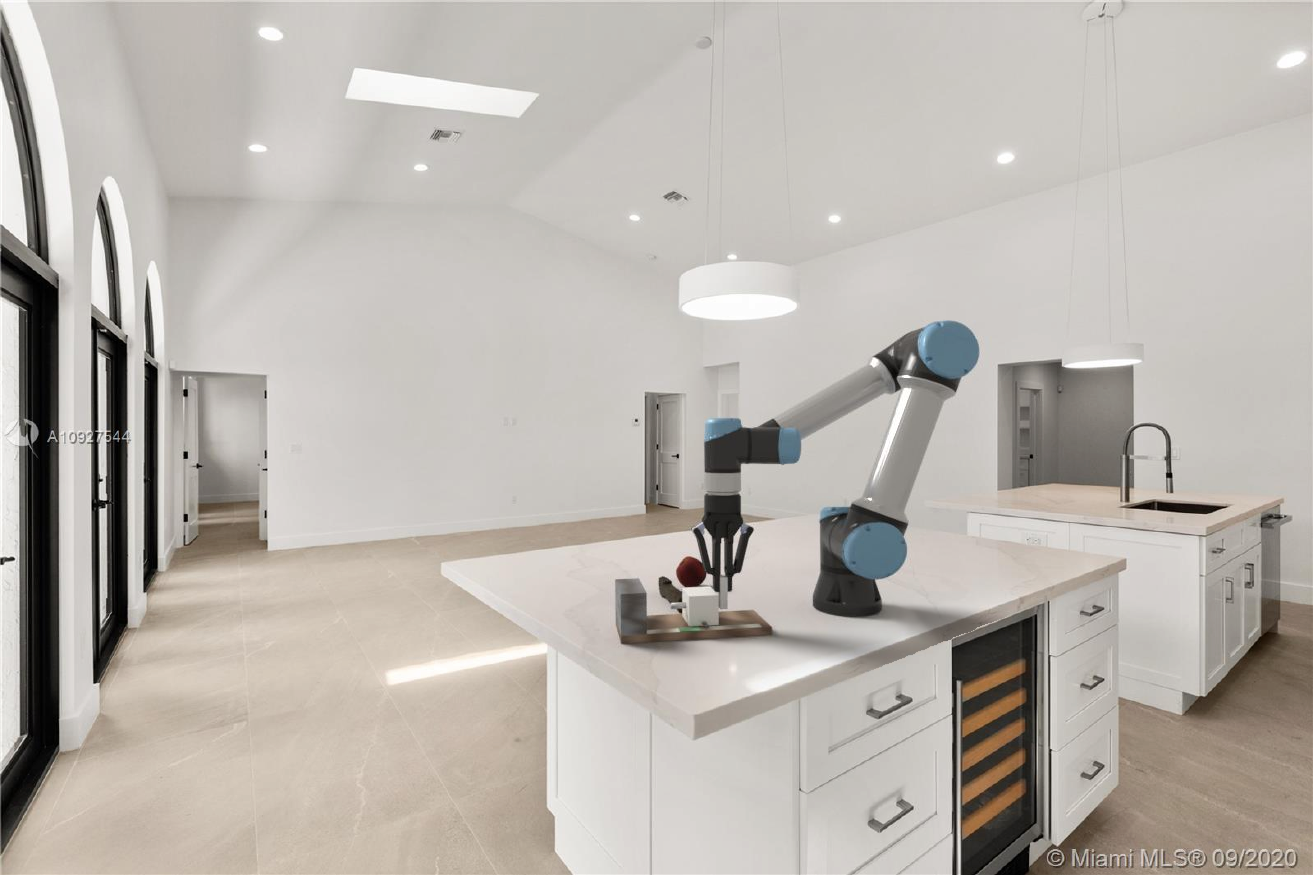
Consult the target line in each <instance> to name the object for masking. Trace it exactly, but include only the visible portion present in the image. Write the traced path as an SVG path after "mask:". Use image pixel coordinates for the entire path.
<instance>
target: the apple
mask: <svg viewBox="0 0 1313 875" xmlns="http://www.w3.org/2000/svg"><path fill="white" fill-rule="evenodd" d="M675 570H676V571H675V576H676V578H677V581H678V582H679V583H680V585H682V587H683V588H687V587H700V586H701V585H702V584H703V583H704V582H705V580H706V578H707V575H708V574H707V573H706V572H705V571H704V568H703V564H702V560H700V559H698V558H696V557H693V556H689V555H687V556H685V557H683V559H682V560H681V561H680V563H679V564H678V566H677V567H676V569H675Z"/></svg>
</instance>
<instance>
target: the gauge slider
mask: <svg viewBox="0 0 1313 875" xmlns="http://www.w3.org/2000/svg"><path fill="white" fill-rule="evenodd" d="M681 590H682V602H679V603H671V602H670V609H671V610H677V609H681V608H682V613H681V614H682V616H683V618H684V619H685V621H686V622H687V624H688V625H689V627H692V626H704V627H705V628H709V625H719V612H720V611H719V609H720V608H719V599H718V594H717V592H715V591H714V590H713V587H711V585H710V586H697V587H687V588H686V587H681Z"/></svg>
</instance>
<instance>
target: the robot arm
mask: <svg viewBox="0 0 1313 875" xmlns="http://www.w3.org/2000/svg"><path fill="white" fill-rule="evenodd" d="M979 358H980V345H979V341H978V339H977V338H976V336H975V333H974V332H973V331H972V330H971V329H970V328H969V327H968V326H966V325H965V324H963V323H962V322H959V321H955V320H939V321H933V322H931V323H929V324H926V325H925V326H923V327H920V328H918V329H914V330H911V331H909V332H907V333H905V334H904V335H902V336H901V337H899V338H898V339H897V340H895V341H894V342H893V343H891V344H890V345H888V346H887V347H885V348H884V349H882V350H881V351H880V352H878V353H876V354H874V355H873V356H870V357H869V358H868V361H867V363H866V365H864V366H862V367H860V368H859V369H857V370H855V371H854V372H851V373H849V374H848V375H847V376H845V377H843V378H841V379H839V380H837V381H836V382H833V383H832V384H831V385H829V386H827V387H825V388H823V389H822V390H820V391H819V392H817V393H814V394H813V395H811V396H809V397H808V398H806V399H804V400H803V401H800V402H799V403H797V404H795V405H794V406H791V407H790V408H788V409H786V410H784V411H783V412H781V413H778V414H777V415H775V416H774V417H772V418H771V419H769V420H767V421H765V422H764V423H762V424H760V425H758V426H754V427H746V426H744V427H743V424H742V420H741V419H740V418H738V417H711V418H709V419H707V420H706V421H705V423H704V438H703V446H704V448H703V449H704V450H703V451H704V454H703V455H704V457H703V458H704V459H703V460H704V461H703V462H704V463H703V464H704V478H703V479H704V484H703V485H704V486H703V489H704V491H705V492H706V493H705V494H704V499H703V500H704V501H703V505H704V508H703V509H704V511H703V512H704V513H703V517H702V518H701V522H700V523H699V524H697V525H696V526H695V525H694V526H692V527H691V532H692V533H693V535H694V536H695V538H696V543H697V547H698V552H699V555H700V561H701V562H702V564H703V568H704V571H705V572H706V573H707V574H706V575H710V576H712V589H713V590H714V591H715V592H716V593H717V594H718V599H719V609H720V610H728V601H729V599H728V598H729V596H728V592H732V590H733V577H734V576H735V575H736V574H740V573H742V568H743V566H744V561H745V558H746V554H747V553H746V552H747V549H748V548H747V547H748V544H749V539H750V538H751V536H752V534H753V532H754V531H755V529H754V527H753V526H751V525H749V524H747V523H745V522H744V518H743V516H742V496H741V494H739V493H740V492H741V491H742V464H743V465H744V464H745V465H749V464H752V465H783V466H784V465H790V464H792V465H794V464H797V463H798V462H799V460H800V458H801V455H802V454H801V453H802V440H804V439H806V438H808V437H809V436H811V435H813V434H815V433H817V432H819V431H820V430H822V429H824V428H825V427H828V426H829V425H831V424H832V423H834V422H836V421H838V420H839V419H841V418H844V417H845V416H847V415H848V414H851V413H853V412H854V411H856V410H857V409H859V408H861V407H863V406H864V405H866V404H868V403H870V402H872V401H874V400H875V399H878V398H879V397H880V396H883V395H884V394H887V395H894V394H895V393H897V392H899V391H900V392H899V394H898V397H897V400H896V403H895V406H894V408H893V410H892V413H891V416H890V419H889V422H888V425H887V427H886V430H885V432H884V435H883V438H882V441H881V444H880V447H879V450H878V452H877V454H876V457H875V460H874V463H873V465H872V469H871V472H870V474H869V476H868V480H867V483H866V485H865V487H864V491H863V493H862V496H861V497H859V498H857V499H856V500H853V501H852V502H851V503H850V506H825V507H822V508H821V510H820V512H819V513H820V514H819V519H818V520H819V521H818V523H819V564H820V565H819V568H820V569H819V574H818V575H819V576H818V578H817V582H816V583H815V587H814V590H813V593H812V607H813V608H815V609H816V610H818V611H820V612H823V613H826V614H829V615H830V614H831V615H837V616H844V617H868V616H869V617H870V616H874V615H877V614H880V613H881V612H882V611H883V598H882V596H881V593H880V590H879V587H878V584H877V582H876V580H883V579H886V578H889V577H890V576H893V575H894V574H896V573H897V572H898V571H899V570H900V569H901V568H902V566H903V565H904V564H905V561H906V559H907V556H908V546H907V542H906V539H905V534H906V532H907V528H908V526H909V520H908V517H907V515H906V514H905V510H906V508H907V507H906V506H907V504H908V502H909V499H910V496H911V493H912V491H913V489H914V485H915V483H916V480H917V477H918V474H919V472H920V468H921V466H922V464H923V460H924V458H925V456H926V453H927V449H928V447H929V444H930V442H931V439H932V436H933V432H934V430H935V428H936V424H937V422H938V419H939V416H940V414H941V411H942V408H943V405H944V403H945V401H947V400H948V399H949V400H950V399H951V398H953V397H955V395H956V394H957V391H958V388H959V386H960V383H961V380H962V377H965V376H967V375H969V373H970V372H972V370H973V369H974V368H975V367H976V365H977V363H978V361H979ZM705 530H706V531H707V533H708V534H709V535H710V536H711V547H712V548H711V560H710V557H709V552H708V548H707V544H706V539H705V536H704V535H705ZM738 531H740V535H739V539H738V543H737V546H736V552H735V556H734V542H735V540H734V537H735V536H736V534H737V533H738ZM722 539H723V555H724V556H723V557H724V558H723V559H724V560H723V562H724V563H723V564H724V565H723V568H724V571H723V572H724V573H722V574H721V572H722V571H721V570H722V569H721V568H722V567H721V566H722V563H721V562H722V560H721V558H722V556H721V555H722V552H721V550H722V548H721V547H722Z"/></svg>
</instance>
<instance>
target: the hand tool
mask: <svg viewBox="0 0 1313 875" xmlns="http://www.w3.org/2000/svg"><path fill="white" fill-rule="evenodd" d="M657 584H658V590H659V595H660V596H661V598H662V599H666V600H667V601H668V602H670V604H671V603H679V602H682V591H681V589H678V588H677V587H675V585H674V584H673V581H672V579H670V578H668V577H665V576H664V575H662V576H660V577H658V583H657ZM676 610H677V611H678V614H682V608H681V609H676Z"/></svg>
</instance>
